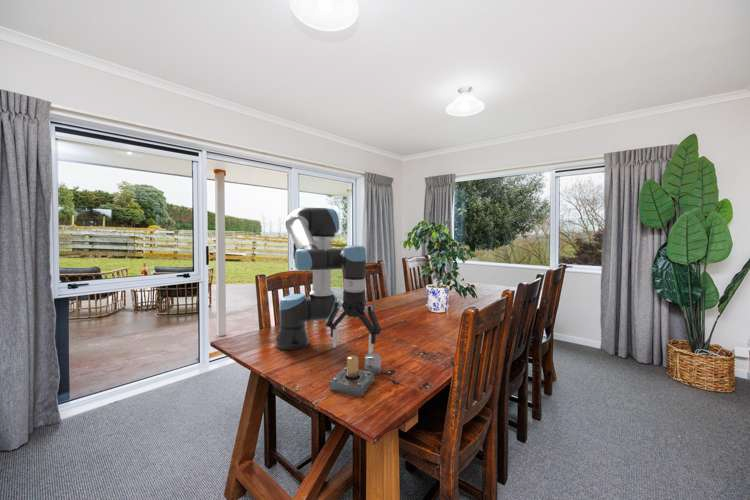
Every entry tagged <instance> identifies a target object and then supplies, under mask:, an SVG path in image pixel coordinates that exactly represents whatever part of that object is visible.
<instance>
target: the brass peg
mask: <svg viewBox="0 0 750 500" xmlns="http://www.w3.org/2000/svg"><path fill="white" fill-rule="evenodd" d="M346 367H347V379H348V380H357V379H358V370H359V356H357V355H354V354H353V355H348V356H346Z"/></svg>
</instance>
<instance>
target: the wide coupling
mask: <svg viewBox="0 0 750 500" xmlns="http://www.w3.org/2000/svg"><path fill="white" fill-rule="evenodd" d="M363 371H370V372H374V376H377V375H379V374H381V373H382V355H381V354H379V353H376V352H375V353H374V352H372V353H371V354H368V353H366V354H365V355H364V370H363Z"/></svg>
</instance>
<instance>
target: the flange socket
mask: <svg viewBox="0 0 750 500" xmlns="http://www.w3.org/2000/svg"><path fill="white" fill-rule="evenodd" d="M374 382H375V375H374V372H370V371H364V370H362V369H358V379H357V380H348V379H347V366H344V367H343V368H342V369H341V370H339V372H338V373H336V375H334V377H333V378H331V379H330V380H329V391H334V392H338V393H344V394H349V395H353V396H358V397H363V396H364V394H365V393H366V392H367V391H368V389H369V388H370V386H372V384H373V383H374Z"/></svg>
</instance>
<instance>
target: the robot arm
mask: <svg viewBox="0 0 750 500" xmlns="http://www.w3.org/2000/svg"><path fill="white" fill-rule="evenodd" d="M285 229H286V231H287V233H288V234H290V235H291V238H292V240H293V243H294V245H295V248H296V250H295V252H294V266H295V269H296V271H306V272H310V271H312V289H311V290H310V291H309V295H308V296H306V295H305V294H304V293H293V294H288V295H285V296H283V297H282V298H281V299H280V301H279V308H278V309H279V310H278V311H279V331H278V334H277V337H276V339H275V347H276V348H277V349H279V350H283V351H295V350H301V349H303V348H305V347H307V346H309V343H310V339H309V335H308V332H307V329H306V322H307V323H308V322H315V321H316V322H317V321H326V323H325V326H326V327H327V328H330V337H331V338H332V348H336V347H337V346H338V345H339V327H337V326H338V325H339V323H341V321H342V320H344V319H345V317H346V316H347V317H351V318H352V317H353V318H358V319H359V320H360V321H361V322H362V323H363V325H364V327H365V328H366V329H367V331H368V332H369V335H368V346H367V347H368V348H367V349H368V352H367V354H371V353H374V344H376V342H377V335H379V334H381V333H382V328H381V325H380V323H379V320H378V319H377V316H376V313H375V312H374V311H375V310H374V305H373V304H370V305H365V298H366V292H365V290H366V266H367V264H366V261H367V260H366V259H367V252H366V247H365V246H362V245H355V244H354V245H350V244H349V245H346V246H344V247H341V248H332V241H333V239H335V237H336V234H338V233H339V231H340V219H339V215H338V213H337V211H336V210H335V209H333V208H327V207H299V208H296V209H294V210H293V211H291V212H290V213H289V215H287V217H286V220H285ZM332 270H343V283H342V285H343V286H342V289H343V292H342V302H341V301H340V300H338V297H337V295H335V294H334V290H332V289H331V288H332V286H331V284H332V281H331V280H332ZM341 308H342V310H343V312H342V313H341V314H340V315H339V316H338V317H337V314H338V312H339V310H340V309H341ZM365 311H366V312H367V314H366V312H365ZM367 315H368V317H369V318H368V317H367ZM336 317H337V318H336ZM335 318H336V320H335ZM334 320H335V321H334Z"/></svg>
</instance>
